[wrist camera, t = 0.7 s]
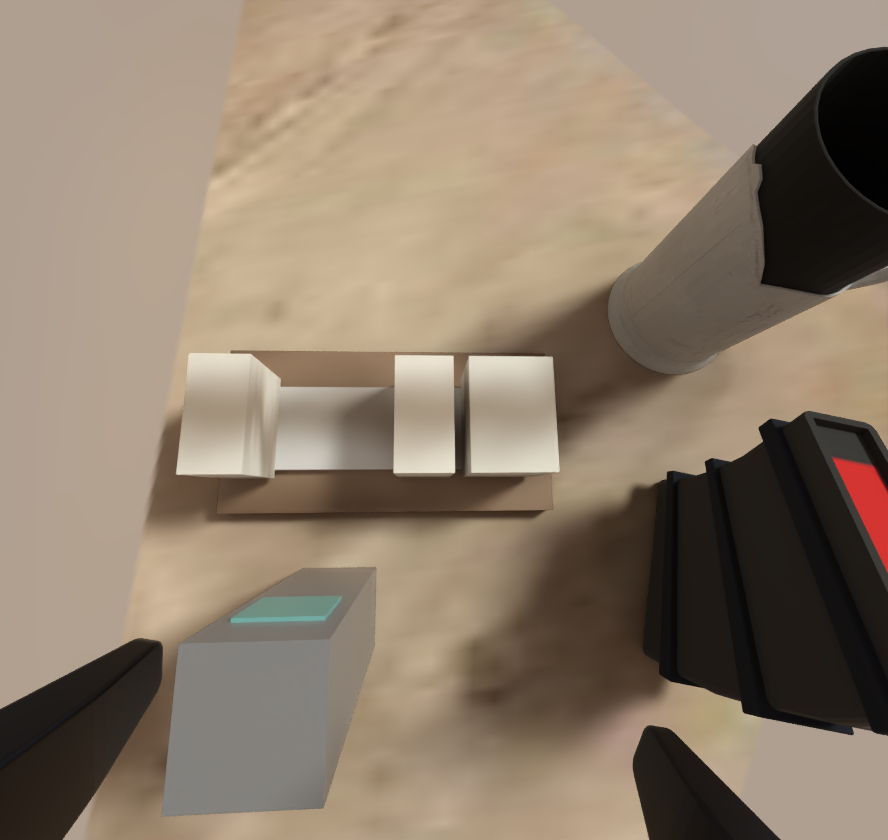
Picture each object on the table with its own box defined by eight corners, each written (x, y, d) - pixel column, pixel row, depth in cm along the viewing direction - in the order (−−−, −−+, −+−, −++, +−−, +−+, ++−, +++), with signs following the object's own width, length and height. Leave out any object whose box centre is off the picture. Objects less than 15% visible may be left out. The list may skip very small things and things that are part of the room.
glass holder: (606, 254, 30) (786, 19, 15) (794, 271, 31) (1142, 61, 16) (608, 369, 28) (810, 232, 14) (806, 385, 29) (1206, 269, 14)
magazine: (644, 725, 23) (943, 734, 11) (620, 507, 31) (777, 371, 19) (710, 738, 23) (1080, 761, 11) (669, 517, 31) (858, 388, 19)
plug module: (374, 645, 24) (323, 808, 12) (298, 647, 24) (161, 816, 11) (376, 564, 25) (330, 633, 12) (303, 565, 25) (179, 638, 12)
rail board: (547, 509, 26) (586, 513, 20) (225, 512, 25) (162, 518, 19) (539, 359, 28) (572, 320, 22) (239, 356, 27) (185, 315, 21)
